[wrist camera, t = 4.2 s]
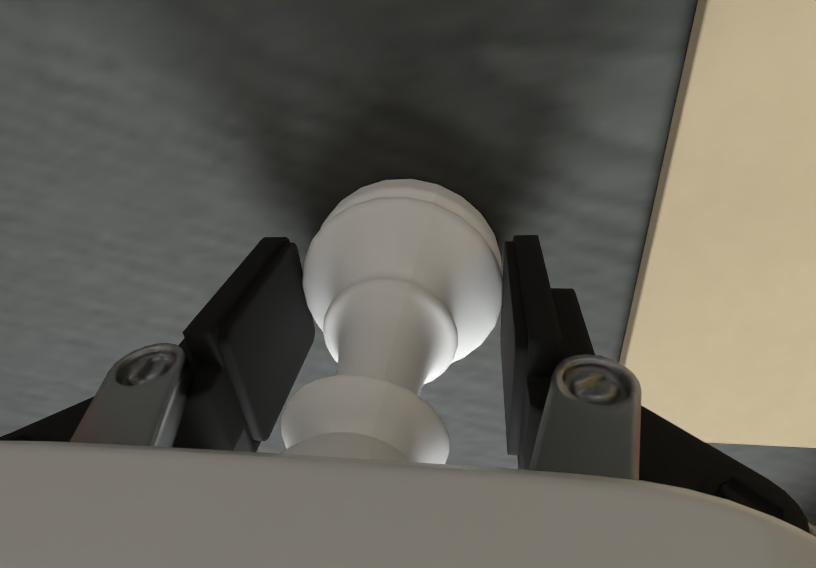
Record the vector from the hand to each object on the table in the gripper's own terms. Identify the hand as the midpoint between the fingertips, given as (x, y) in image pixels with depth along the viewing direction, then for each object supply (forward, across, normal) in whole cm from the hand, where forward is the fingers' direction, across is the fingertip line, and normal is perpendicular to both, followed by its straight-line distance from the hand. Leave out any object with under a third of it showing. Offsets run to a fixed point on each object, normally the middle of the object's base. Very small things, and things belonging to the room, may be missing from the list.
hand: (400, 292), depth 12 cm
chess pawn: (+2, 0, 0) cm, 2 cm away
